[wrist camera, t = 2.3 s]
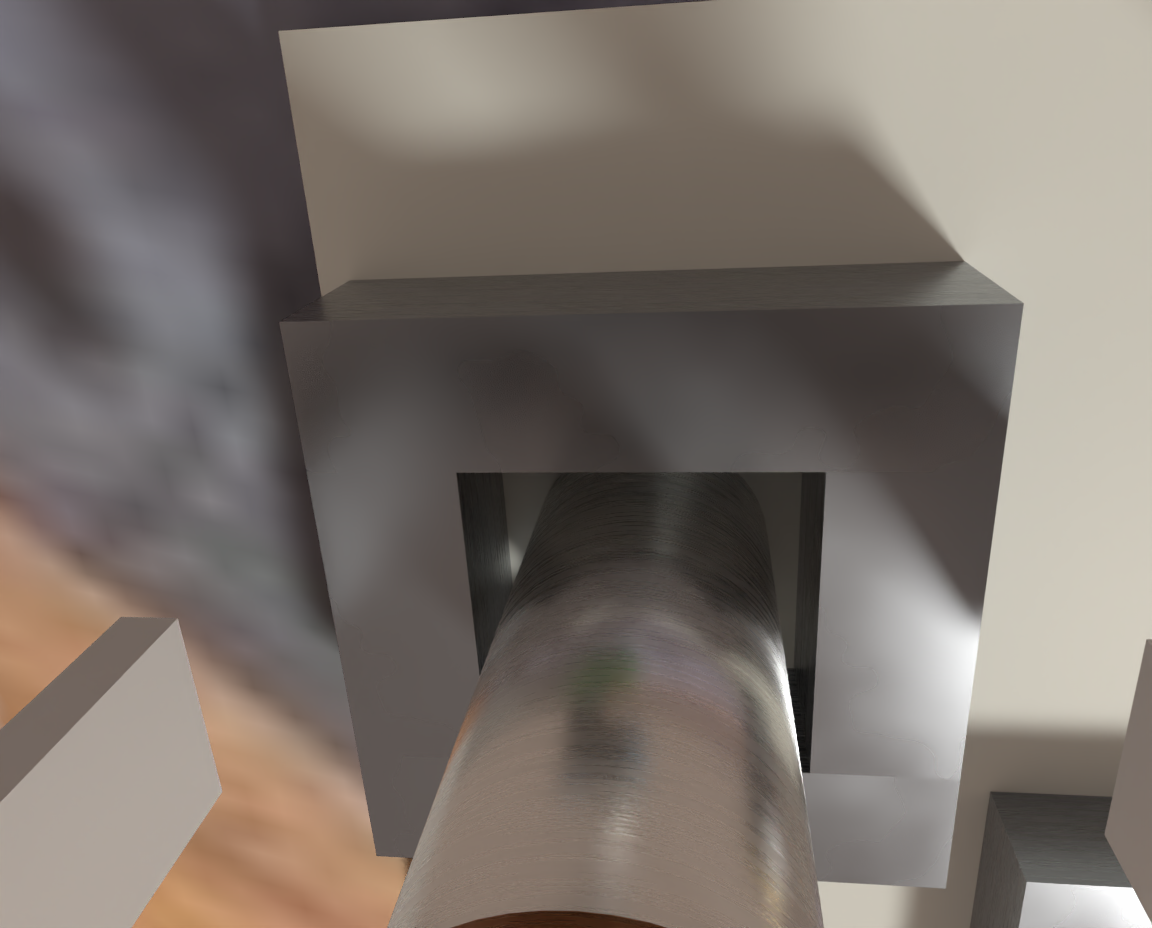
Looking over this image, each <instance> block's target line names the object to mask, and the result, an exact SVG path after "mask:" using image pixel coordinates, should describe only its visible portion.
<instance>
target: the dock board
mask: <svg viewBox="0 0 1152 928" xmlns="http://www.w3.org/2000/svg"><path fill="white" fill-rule="evenodd" d="M278 32H279V38H280V45H281V51H282V57H283V63H284V69H285V75H286V81H287V88H288V94H289V100H290V106H291V112H292V118H293V124H294V130H295V137H296V143H297V149H298V155H299V161H300V167H301V173H302V180H303V186H304V192H305V198H306V204H307V210H308V216H309V222H310V229H311V235H312V241H313V247H314V253H315V259H316V265H317V272H318V278H319V284H320V290H321V296H324V295H326V294H327V293H329V292H331V291H333V290H334V289H336V288H338V287H339V286H341V285H343V284H344V283H346V282H348V281H350V280H372V279H404V278H436V277H468V276H500V275H532V274H564V273H596V272H628V271H659V270H691V269H723V268H755V267H787V266H819V265H851V264H883V263H915V262H947V261H965V262H967V263H968V264H969V265H971V266H972V267H974V268H975V269H976V270H978V271H979V272H981V273H982V274H983V275H985V276H986V277H988V278H989V279H990V280H992V281H993V282H995V283H996V284H997V285H999V286H1000V287H1002V288H1003V289H1004V290H1006V291H1007V292H1009V293H1010V294H1011V295H1013V296H1014V297H1016V298H1017V299H1019V300H1020V301H1021V302H1023V303H1024V306H1023V313H1022V321H1021V328H1020V336H1019V343H1018V351H1017V358H1016V366H1015V373H1014V381H1013V388H1012V396H1011V403H1010V411H1009V418H1008V426H1007V433H1006V441H1005V448H1004V456H1003V463H1002V471H1001V478H1000V486H999V493H998V501H997V508H996V516H995V523H994V531H993V538H992V546H991V553H990V561H989V568H988V576H987V583H986V591H985V598H984V606H983V613H982V620H981V628H980V635H979V643H978V650H977V658H976V665H975V673H974V680H973V688H972V695H971V703H970V710H969V718H968V725H967V733H966V740H965V748H964V755H963V763H962V770H961V778H960V785H959V793H958V800H957V808H956V815H955V823H954V830H953V838H952V845H951V853H950V860H949V868H948V875H947V883H946V889H944V888H926V887H909V886H891V885H874V884H857V883H839V882H822V881H817V882H818V889H819V896H820V903H821V910H822V917H823V924H824V928H970V923H971V916H972V910H973V903H974V896H975V890H976V883H977V877H978V870H979V863H980V857H981V850H982V843H983V837H984V830H985V823H986V817H987V810H988V803H989V797H990V791H992V792H1015V793H1038V794H1060V795H1083V796H1106V797H1113V792H1114V787H1115V783H1116V778H1117V774H1118V769H1119V764H1120V760H1121V755H1122V750H1123V746H1124V741H1125V736H1126V732H1127V727H1128V722H1129V718H1130V713H1131V709H1132V704H1133V699H1134V695H1135V690H1136V685H1137V681H1138V676H1139V671H1140V667H1141V662H1142V657H1143V653H1144V648H1145V644H1146V639H1152V0H711V1H697V2H683V3H669V4H654V5H640V6H626V7H612V8H598V9H584V10H569V11H555V12H541V13H527V14H513V15H499V16H484V17H470V18H456V19H442V20H428V21H414V22H399V23H385V24H371V25H357V26H343V27H329V28H314V29H300V30H286V31H278ZM738 473H739V474H740V476H741V477H742V478H743V479H744V480H745V481H746V483H747V484H748V485H749V487H750V488H751V489H752V491H753V493H754V495H755V496H756V498H757V500H758V502H759V504H760V507H761V510H762V512H763V515H764V519H765V524H766V529H767V535H768V542H769V549H770V556H771V563H772V570H773V577H774V584H775V591H776V598H777V605H778V612H779V618H780V625H781V632H782V639H783V646H784V653H785V660H786V667H787V668H794V647H795V624H796V601H797V577H798V554H799V531H800V507H801V484H802V472H738ZM560 475H561V473H502V477H503V487H504V498H505V508H506V519H507V530H508V540H509V551H510V562H511V572H512V583H513V584H514V581H515V579H516V576H517V573H518V570H519V568H520V565H521V562H522V560H523V557H524V554H525V551H526V549H527V546H528V543H529V540H530V538H531V535H532V532H533V530H534V527H535V524H536V521H537V519H538V516H539V513H540V511H541V508H542V505H543V502H544V500H545V498H546V496H547V494H548V492H549V490H550V488H551V487H552V485H553V484H554V482H555V481H556V479H557V478H558V477H559V476H560Z"/></svg>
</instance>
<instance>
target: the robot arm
mask: <svg viewBox="0 0 1152 928" xmlns="http://www.w3.org/2000/svg"><path fill="white" fill-rule="evenodd" d="M221 793H222V788H221V784H220V781H219V777H218V773H217V769H216V765H215V761H214V757H213V753H212V750H211V746H210V742H209V738H208V734H207V730H206V726H205V722H204V719H203V715H202V711H201V707H200V703H199V699H198V695H197V691H196V688H195V684H194V680H193V676H192V672H191V668H190V664H189V660H188V657H187V653H186V649H185V645H184V641H183V637H182V633H181V629H180V626H179V622H178V618H142V617H121V618H119V619H118V620H117V621H116V622H115V623H114V624H113V625H112V626H111V627H110V628H109V629H108V630H107V631H106V632H105V633H103V634H102V635H101V636H100V637H99V638H98V639H97V640H96V641H95V642H94V643H93V644H92V645H91V646H90V647H88V648H87V649H86V650H85V651H84V652H83V653H82V654H81V655H80V656H79V657H78V658H77V659H76V660H75V661H74V662H72V663H71V664H70V665H69V666H68V667H67V668H66V669H65V670H64V671H63V672H62V673H61V674H60V675H59V676H57V677H56V678H55V679H54V680H53V681H52V682H51V683H50V684H49V685H48V686H47V687H46V688H45V689H44V690H42V691H41V692H40V693H39V694H38V695H37V696H36V697H35V698H34V699H33V700H32V701H31V702H30V703H29V704H28V705H26V706H25V707H24V708H23V709H22V710H21V711H20V712H19V713H18V714H17V715H16V716H15V717H14V718H13V719H11V720H10V721H9V722H8V723H7V724H6V725H5V726H4V727H3V728H2V729H1V730H0V928H132V926H133V925H134V923H135V922H136V920H137V919H138V917H139V916H140V914H141V913H142V911H143V910H144V908H145V907H146V905H147V904H148V902H149V901H150V899H151V898H152V896H153V895H154V893H155V892H156V890H157V889H158V887H159V886H160V884H161V883H162V881H163V880H164V878H165V877H166V875H167V874H168V872H169V871H170V869H171V868H172V866H173V865H174V863H175V862H176V860H177V859H178V857H179V856H180V854H181V853H182V851H183V850H184V848H185V847H186V845H187V844H188V842H189V841H190V839H191V838H192V836H193V835H194V833H195V832H196V830H197V829H198V827H199V826H200V824H201V823H202V821H203V820H204V818H205V817H206V815H207V814H208V812H209V811H210V809H211V808H212V806H213V805H214V803H215V802H216V800H217V799H218V797H219V796H220V794H221ZM1104 835H1105V837H1106V839H1107V841H1108V842H1109V844H1110V846H1111V848H1112V850H1113V852H1114V854H1115V856H1116V857H1117V859H1118V861H1119V863H1120V865H1121V867H1122V869H1123V871H1124V873H1125V874H1126V876H1127V878H1128V880H1129V882H1130V884H1131V886H1132V888H1133V889H1134V891H1135V893H1136V895H1137V897H1138V899H1139V901H1140V903H1141V905H1142V906H1143V908H1144V910H1145V912H1146V914H1147V916H1148V918H1149V920H1150V922H1151V923H1152V639H1146V644H1145V648H1144V653H1143V657H1142V662H1141V667H1140V671H1139V676H1138V681H1137V685H1136V690H1135V695H1134V699H1133V704H1132V709H1131V713H1130V718H1129V722H1128V727H1127V732H1126V736H1125V741H1124V746H1123V750H1122V755H1121V760H1120V764H1119V769H1118V774H1117V778H1116V783H1115V787H1114V792H1113V797H1112V801H1111V806H1110V811H1109V815H1108V820H1107V825H1106V829H1105V834H1104Z"/></svg>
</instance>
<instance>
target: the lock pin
mask: <svg viewBox="0 0 1152 928" xmlns="http://www.w3.org/2000/svg"><path fill="white" fill-rule="evenodd" d="M387 928H824V924H823V917H822V910H821V903H820V896H819V889H818V882H817V875H816V868H815V861H814V855H813V848H812V841H811V834H810V827H809V820H808V813H807V806H806V799H805V792H804V785H803V778H802V771H801V764H800V757H799V750H798V743H797V736H796V730H795V723H794V716H793V709H792V702H791V695H790V688H789V681H788V674H787V667H786V660H785V653H784V646H783V639H782V632H781V625H780V618H779V612H778V605H777V598H776V591H775V584H774V577H773V570H772V563H771V556H770V549H769V542H768V535H767V529H766V524H765V519H764V515H763V512H762V510H761V507H760V504H759V502H758V500H757V498H756V496H755V495H754V493H753V491H752V489H751V488H750V487H749V485H748V484H747V483H746V481H745V480H744V479H743V478H742V477H741V476H740V474H739V473H738V472H577V473H561V475H560V476H559V477H558V478H557V479H556V481H555V482H554V484H553V485H552V487H551V488H550V490H549V492H548V494H547V496H546V498H545V500H544V502H543V505H542V508H541V511H540V513H539V516H538V519H537V521H536V524H535V527H534V530H533V532H532V535H531V538H530V540H529V543H528V546H527V549H526V551H525V554H524V557H523V560H522V562H521V565H520V568H519V570H518V573H517V576H516V579H515V581H514V584H513V587H512V589H511V592H510V595H509V598H508V600H507V603H506V606H505V609H504V611H503V614H502V617H501V619H500V622H499V625H498V628H497V630H496V633H495V636H494V639H493V641H492V644H491V647H490V649H489V652H488V655H487V658H486V660H485V663H484V666H483V668H482V671H481V674H480V677H479V679H478V682H477V685H476V688H475V690H474V693H473V696H472V698H471V701H470V704H469V707H468V709H467V712H466V715H465V718H464V720H463V723H462V726H461V728H460V731H459V734H458V737H457V739H456V742H455V745H454V747H453V750H452V753H451V756H450V758H449V761H448V764H447V767H446V769H445V772H444V775H443V777H442V780H441V783H440V786H439V788H438V791H437V794H436V797H435V799H434V802H433V805H432V807H431V810H430V813H429V816H428V818H427V821H426V824H425V826H424V829H423V832H422V835H421V837H420V840H419V843H418V846H417V848H416V851H415V854H414V856H413V859H412V862H411V865H410V867H409V870H408V873H407V876H406V878H405V881H404V884H403V886H402V889H401V892H400V895H399V897H398V900H397V903H396V905H395V908H394V911H393V914H392V916H391V919H390V922H389V925H388V927H387Z"/></svg>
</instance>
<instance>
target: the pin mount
mask: <svg viewBox="0 0 1152 928" xmlns="http://www.w3.org/2000/svg"><path fill="white" fill-rule="evenodd" d="M1023 306H1024V303H1023V302H1021V301H1020V300H1019V299H1017V298H1016V297H1014V296H1013V295H1011V294H1010V293H1009V292H1007V291H1006V290H1004V289H1003V288H1002V287H1000V286H999V285H997V284H996V283H995V282H993V281H992V280H990V279H989V278H988V277H986V276H985V275H983V274H982V273H981V272H979V271H978V270H976V269H975V268H974V267H972V266H971V265H969V264H968V263H967V262H965V261H947V262H915V263H883V264H851V265H819V266H787V267H755V268H723V269H691V270H659V271H628V272H596V273H564V274H532V275H500V276H468V277H436V278H404V279H372V280H350V281H348V282H346V283H344V284H343V285H341V286H339V287H338V288H336V289H334V290H333V291H331V292H329V293H327V294H326V295H324V296H322V297H321V298H319V299H317V300H316V301H314V302H312V303H310V304H309V305H307V306H305V307H304V308H302V309H300V310H299V311H297V312H295V313H293V314H292V315H290V316H288V317H287V318H285V319H283V320H282V321H280V322H279V324H280V330H281V335H282V341H283V346H284V352H285V357H286V363H287V368H288V374H289V379H290V385H291V390H292V395H293V401H294V406H295V412H296V417H297V423H298V428H299V434H300V439H301V445H302V450H303V456H304V461H305V467H306V472H307V477H308V483H309V488H310V494H311V499H312V505H313V510H314V516H315V521H316V527H317V532H318V538H319V543H320V549H321V554H322V559H323V565H324V570H325V576H326V581H327V587H328V592H329V598H330V603H331V609H332V614H333V620H334V625H335V631H336V636H337V641H338V647H339V652H340V658H341V663H342V669H343V674H344V680H345V685H346V691H347V696H348V702H349V707H350V713H351V718H352V723H353V729H354V734H355V740H356V745H357V751H358V756H359V762H360V767H361V773H362V778H363V784H364V789H365V795H366V800H367V805H368V811H369V816H370V822H371V827H372V833H373V838H374V844H375V849H376V855H377V856H388V857H405V858H413V856H414V854H415V851H416V848H417V846H418V843H419V840H420V837H421V835H422V832H423V829H424V826H425V824H426V821H427V818H428V816H429V813H430V810H431V807H432V805H433V802H434V799H435V797H436V794H437V791H438V788H439V786H440V783H441V780H442V777H443V775H444V772H445V769H446V767H447V764H448V761H449V758H450V756H451V753H452V750H453V747H454V745H455V742H456V739H457V737H458V734H459V731H460V728H461V726H462V723H463V720H464V718H465V715H466V712H467V709H468V707H469V704H470V701H471V698H472V696H473V693H474V690H475V688H476V685H477V682H478V679H479V677H480V674H481V671H482V668H483V666H484V663H485V660H486V658H487V655H488V652H489V649H490V647H491V644H492V641H493V639H494V636H495V633H496V630H497V628H498V625H499V622H500V619H501V617H502V614H503V611H504V609H505V606H506V603H507V600H508V598H509V595H510V592H511V589H512V587H513V583H512V572H511V562H510V551H509V540H508V530H507V519H506V508H505V498H504V487H503V477H502V473H577V472H802V484H801V507H800V531H799V554H798V577H797V601H796V624H795V647H794V668H787V674H788V681H789V688H790V695H791V702H792V709H793V716H794V723H795V730H796V736H797V743H798V750H799V757H800V764H801V771H802V778H803V785H804V792H805V799H806V806H807V813H808V820H809V827H810V834H811V841H812V848H813V855H814V861H815V868H816V875H817V881H822V882H839V883H857V884H874V885H891V886H909V887H926V888H944V889H946V883H947V875H948V868H949V860H950V853H951V845H952V838H953V830H954V823H955V815H956V808H957V800H958V793H959V785H960V778H961V770H962V763H963V755H964V748H965V740H966V733H967V725H968V718H969V710H970V703H971V695H972V688H973V680H974V673H975V665H976V658H977V650H978V643H979V635H980V628H981V620H982V613H983V606H984V598H985V591H986V583H987V576H988V568H989V561H990V553H991V546H992V538H993V531H994V523H995V516H996V508H997V501H998V493H999V486H1000V478H1001V471H1002V463H1003V456H1004V448H1005V441H1006V433H1007V426H1008V418H1009V411H1010V403H1011V396H1012V388H1013V381H1014V373H1015V366H1016V358H1017V351H1018V343H1019V336H1020V328H1021V321H1022V313H1023Z"/></svg>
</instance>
